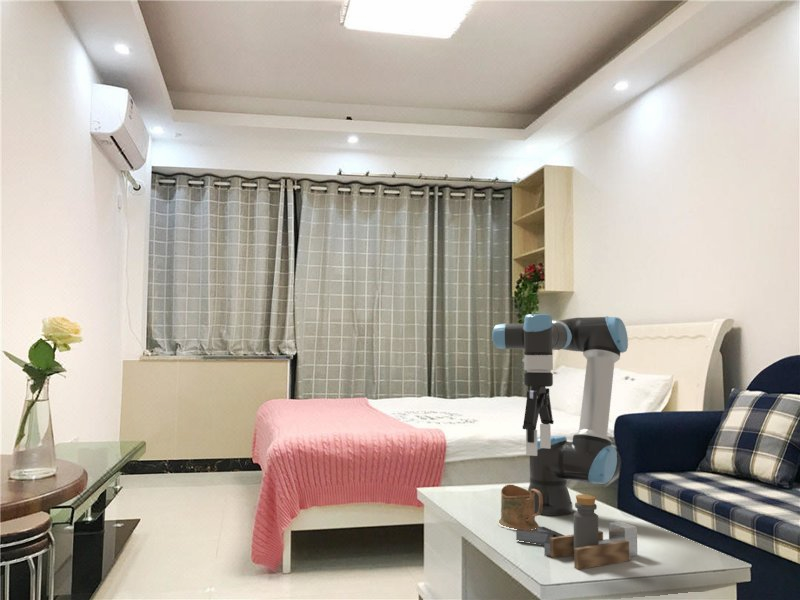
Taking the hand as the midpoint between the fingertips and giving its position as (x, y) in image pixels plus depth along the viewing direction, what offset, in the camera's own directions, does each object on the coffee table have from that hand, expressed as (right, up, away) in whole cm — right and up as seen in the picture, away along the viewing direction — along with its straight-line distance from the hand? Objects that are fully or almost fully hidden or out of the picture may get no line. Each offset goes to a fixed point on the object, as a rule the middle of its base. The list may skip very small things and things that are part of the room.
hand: (538, 451), depth 164 cm
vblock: (0, -24, -4) cm, 24 cm away
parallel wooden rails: (+10, -23, -13) cm, 28 cm away
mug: (-1, -25, +13) cm, 28 cm away
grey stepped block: (+17, -24, -10) cm, 30 cm away
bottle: (+9, -23, -13) cm, 28 cm away
